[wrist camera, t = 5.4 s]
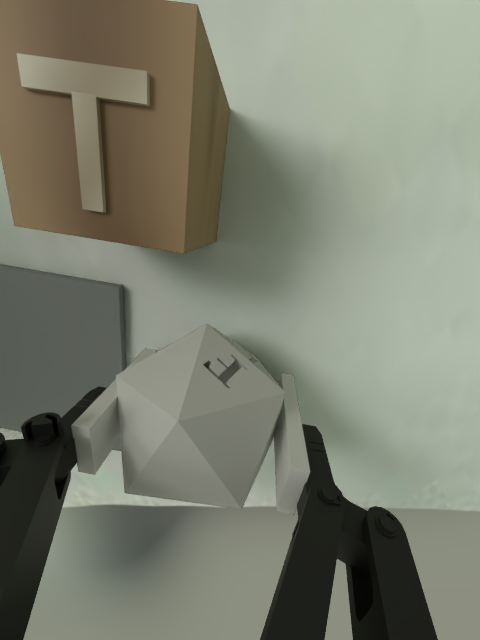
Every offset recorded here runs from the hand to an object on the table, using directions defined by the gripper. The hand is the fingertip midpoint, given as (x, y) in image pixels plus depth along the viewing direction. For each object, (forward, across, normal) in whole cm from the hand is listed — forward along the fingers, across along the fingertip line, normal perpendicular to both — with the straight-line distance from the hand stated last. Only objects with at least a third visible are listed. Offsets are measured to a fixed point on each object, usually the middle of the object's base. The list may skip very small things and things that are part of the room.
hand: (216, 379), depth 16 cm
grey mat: (+1, -13, -2) cm, 13 cm away
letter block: (+1, -4, +12) cm, 12 cm away
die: (+1, 0, 0) cm, 1 cm away
